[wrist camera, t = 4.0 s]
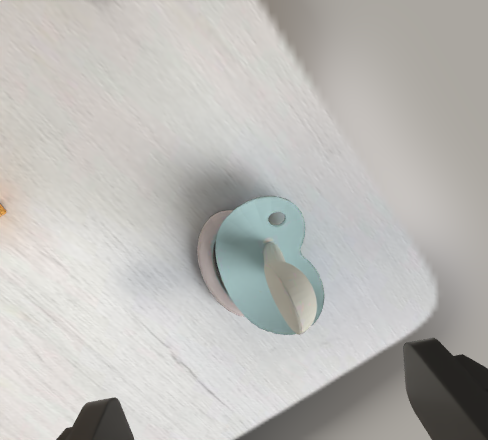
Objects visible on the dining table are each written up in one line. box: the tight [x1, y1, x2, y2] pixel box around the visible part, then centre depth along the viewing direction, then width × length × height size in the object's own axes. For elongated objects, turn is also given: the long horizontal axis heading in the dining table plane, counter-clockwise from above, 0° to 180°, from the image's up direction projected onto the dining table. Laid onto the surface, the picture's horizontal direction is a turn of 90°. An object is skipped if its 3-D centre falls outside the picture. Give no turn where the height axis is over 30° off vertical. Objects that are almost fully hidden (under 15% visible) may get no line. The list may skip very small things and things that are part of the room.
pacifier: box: [197, 196, 324, 335], centre depth 15 cm, size 7×6×6 cm
